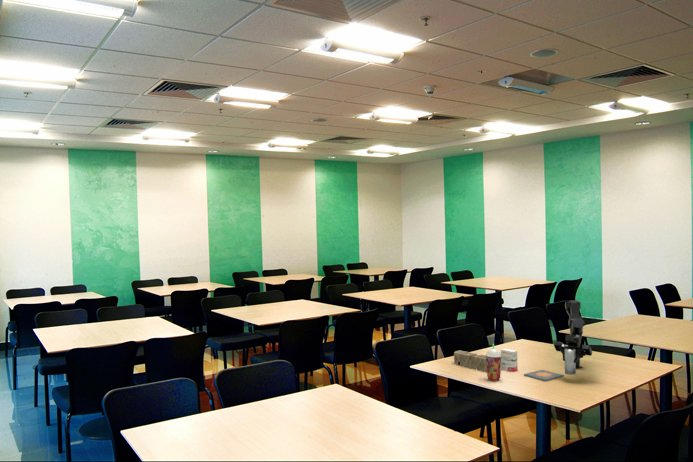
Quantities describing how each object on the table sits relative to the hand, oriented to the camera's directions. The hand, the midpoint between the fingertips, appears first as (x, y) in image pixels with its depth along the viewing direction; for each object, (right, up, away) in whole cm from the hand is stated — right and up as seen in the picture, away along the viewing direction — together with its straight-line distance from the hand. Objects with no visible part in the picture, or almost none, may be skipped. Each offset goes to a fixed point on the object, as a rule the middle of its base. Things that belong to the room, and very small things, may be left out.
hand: (569, 361), depth 282 cm
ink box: (-24, -12, +27) cm, 38 cm away
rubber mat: (-9, -11, +12) cm, 19 cm away
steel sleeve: (+1, -7, +1) cm, 7 cm away
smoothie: (-39, -12, +7) cm, 41 cm away
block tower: (-42, -12, +34) cm, 55 cm away
